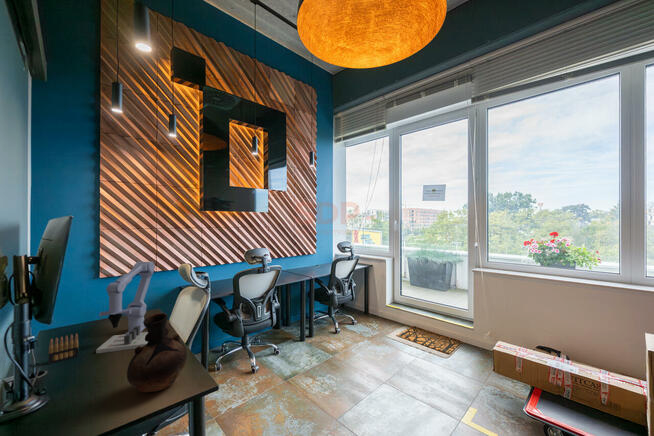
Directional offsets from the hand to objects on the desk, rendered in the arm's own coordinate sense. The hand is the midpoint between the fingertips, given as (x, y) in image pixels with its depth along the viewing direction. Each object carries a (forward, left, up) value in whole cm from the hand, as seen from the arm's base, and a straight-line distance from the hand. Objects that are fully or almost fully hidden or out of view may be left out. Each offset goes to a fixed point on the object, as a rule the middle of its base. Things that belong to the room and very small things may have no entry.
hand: (115, 327), depth 148 cm
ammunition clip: (+15, -16, -9) cm, 23 cm away
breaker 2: (-3, +9, -7) cm, 12 cm away
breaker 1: (+9, +9, -7) cm, 14 cm away
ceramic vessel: (+54, +37, -9) cm, 66 cm away
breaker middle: (+3, +10, -7) cm, 12 cm away
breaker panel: (+3, +7, -9) cm, 12 cm away
